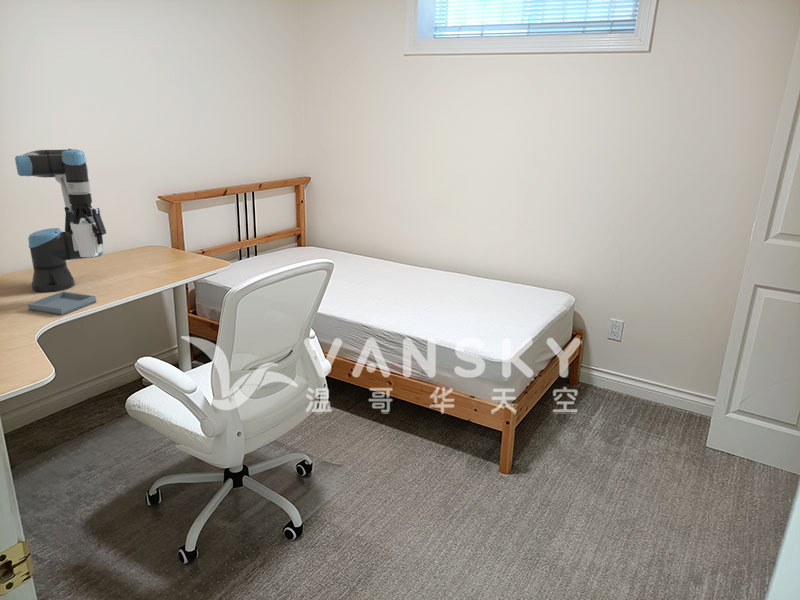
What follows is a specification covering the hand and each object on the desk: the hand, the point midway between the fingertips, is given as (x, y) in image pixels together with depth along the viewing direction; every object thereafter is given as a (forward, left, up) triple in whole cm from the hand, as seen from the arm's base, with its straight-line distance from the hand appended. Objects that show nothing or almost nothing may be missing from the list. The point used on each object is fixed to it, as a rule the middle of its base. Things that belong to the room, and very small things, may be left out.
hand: (88, 251), depth 225 cm
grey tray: (0, -15, -18) cm, 23 cm away
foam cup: (0, 0, -2) cm, 2 cm away
